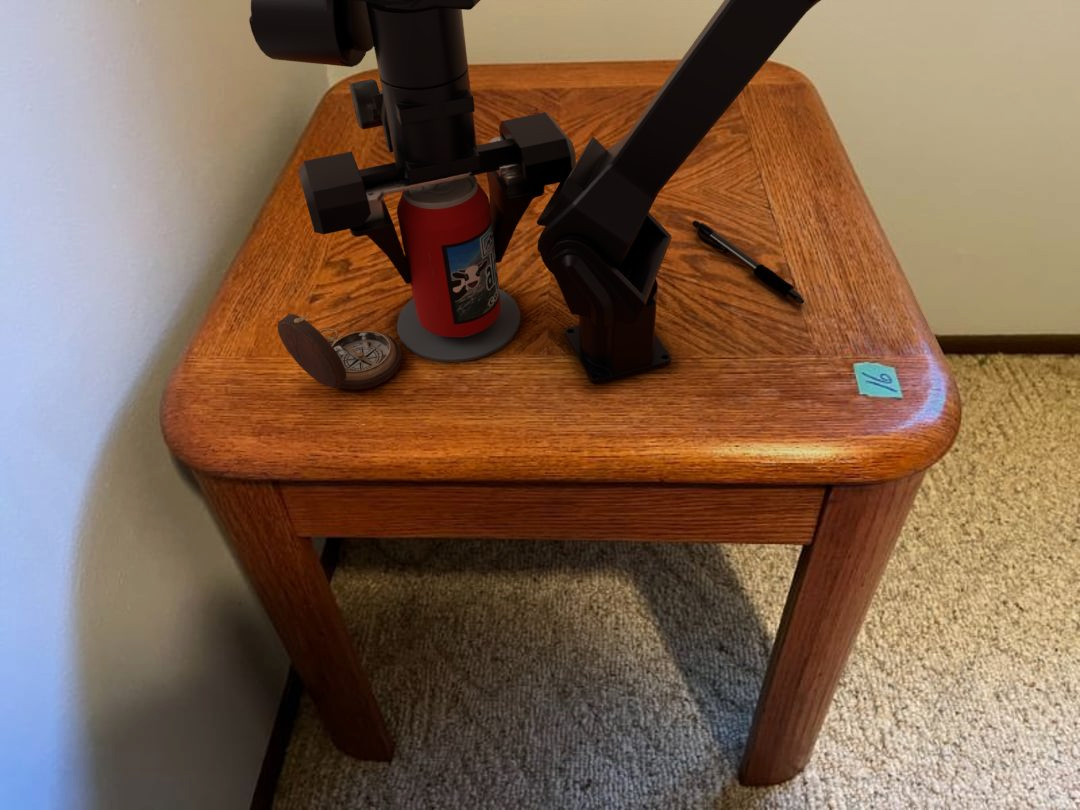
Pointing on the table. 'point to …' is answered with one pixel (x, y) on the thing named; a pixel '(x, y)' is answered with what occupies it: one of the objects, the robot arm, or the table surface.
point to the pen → (746, 261)
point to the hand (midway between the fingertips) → (453, 270)
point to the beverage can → (450, 256)
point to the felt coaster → (459, 347)
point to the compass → (340, 354)
